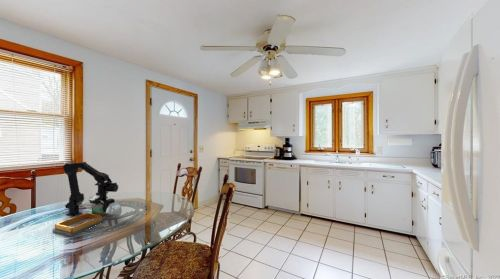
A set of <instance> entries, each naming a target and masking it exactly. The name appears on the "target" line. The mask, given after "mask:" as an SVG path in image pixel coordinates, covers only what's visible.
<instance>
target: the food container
mask: <svg viewBox="0 0 500 279" xmlns="http://www.w3.org/2000/svg"><path fill="white" fill-rule="evenodd" d="M102 204H104V202H103V201H102V202H100V203H98V204H91V205H90V208H91V213H92V214H97V215H101V216H103V217H104V216H106V215H107V210H106V211H105V212H104V210H103V205H102ZM105 214H106V215H105Z"/></svg>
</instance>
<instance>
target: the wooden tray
mask: <svg viewBox="0 0 500 279" xmlns="http://www.w3.org/2000/svg"><path fill="white" fill-rule="evenodd" d="M103 217H104V216H101V215H97V214H92V212H85V213H81V214H78V215H75V216H72V217H70V218H68V219H65V220H63V221H60V222H57V223H55V224H54V228H52V233H55V234H59V235H62V236H66V237H69V238H72V237H75V236H77V235H79V234H81V233H84V232H86V231H88V230H90V229H89V228H91V227H93V226H95V225H97V226H99V225H98V224H100V223H102V222H104V223H105V219H104V218H103ZM102 224H103V223H102ZM100 225H101V224H100ZM95 227H96V226H95ZM93 228H94V227H93ZM87 229H88V230H87ZM91 229H92V228H91ZM85 230H86V231H85ZM83 231H84V232H83ZM78 233H79V234H78ZM76 234H77V235H76ZM74 235H75V236H74Z"/></svg>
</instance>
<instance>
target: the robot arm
mask: <svg viewBox="0 0 500 279" xmlns="http://www.w3.org/2000/svg"><path fill="white" fill-rule="evenodd" d="M62 169H63V172H64V173H65V174H66V175H67V178H68V180H67V181H68V185H69V190H70V195H69V198H68V202H67V203H66V204H64V207H65V209H68V210H67V213H65V215H66V216H68V217H75V216H78V215H81V214H82V212H81V211H80V205H82V203H83V202H84V201H85V194H84V193H81V192H80V187H79V180H78V175H77V174H78V171H79V169H81V170H83V171H84V172H86V173H87V174H89V175H90V176H92V177H93V180H95V182H96V183H95V184H94V186H97V192H95V195H94V196H93V195H92V196H90V197H89V199H88V201H89V203H90V204H91V205H95V204H98V203H100V202H104V204H102V205H103V210H104V212H105V211H106V212H107V210H108V207H109V206H110V205H112V204H114V203H115V202H116V199H114V198H109V196H107V195H108V193H109V192H111V193H117V192H118V190H119V185H118V184H117V182H113V181H112V180H111V177H109V174H107V173H105V172H101V171H98V170H97V169H96V168H94V167H93V166H91V165H90V164H88V163H87V162H86V161H80V162H74V161H73V162H69V163H64V164H63V166H62Z"/></svg>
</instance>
